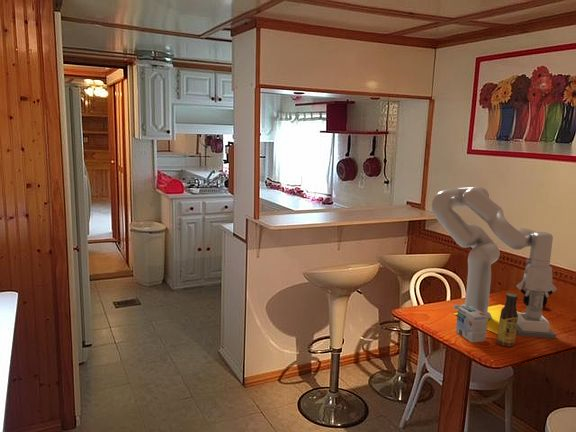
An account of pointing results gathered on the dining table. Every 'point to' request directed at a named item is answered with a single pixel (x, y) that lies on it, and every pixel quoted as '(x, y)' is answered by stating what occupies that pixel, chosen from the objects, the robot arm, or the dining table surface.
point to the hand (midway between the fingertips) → (534, 304)
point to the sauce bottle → (508, 321)
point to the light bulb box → (471, 324)
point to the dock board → (533, 327)
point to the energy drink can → (535, 304)
